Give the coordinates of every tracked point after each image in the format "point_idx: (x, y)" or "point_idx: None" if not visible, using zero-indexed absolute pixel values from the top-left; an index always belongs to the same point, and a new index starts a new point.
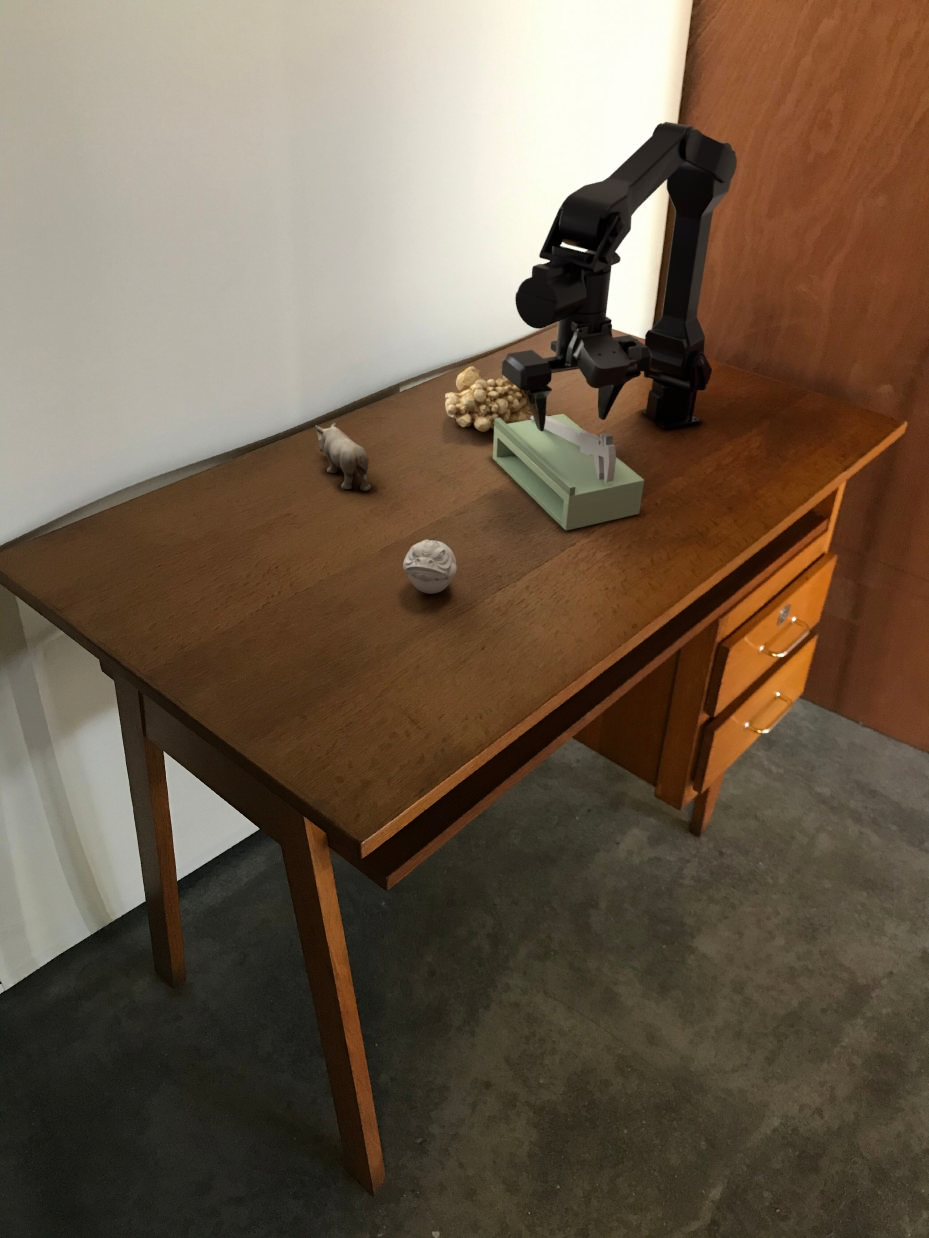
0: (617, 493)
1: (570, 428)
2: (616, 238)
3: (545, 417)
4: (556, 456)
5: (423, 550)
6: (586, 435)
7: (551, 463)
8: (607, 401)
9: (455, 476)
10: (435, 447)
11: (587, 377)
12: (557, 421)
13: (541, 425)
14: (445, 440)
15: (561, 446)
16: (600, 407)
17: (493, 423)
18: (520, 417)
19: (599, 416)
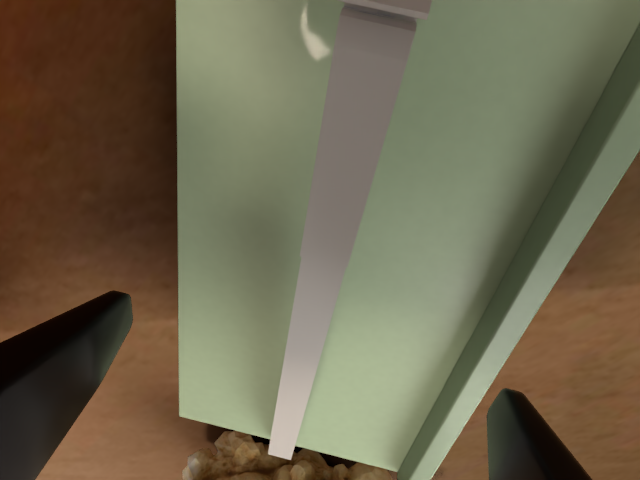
0: None
1: (301, 339)
2: None
3: (550, 471)
4: (406, 260)
5: None
6: (363, 208)
7: (475, 232)
8: (31, 376)
9: (560, 385)
10: (475, 471)
11: None
12: (282, 402)
13: (545, 426)
14: (433, 475)
15: None
16: (95, 365)
17: (346, 472)
18: (251, 451)
19: (128, 323)
